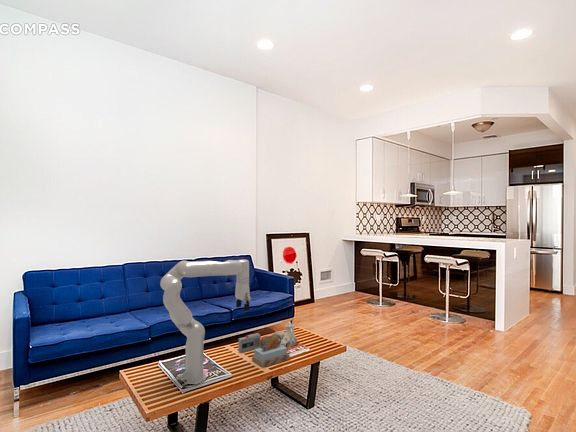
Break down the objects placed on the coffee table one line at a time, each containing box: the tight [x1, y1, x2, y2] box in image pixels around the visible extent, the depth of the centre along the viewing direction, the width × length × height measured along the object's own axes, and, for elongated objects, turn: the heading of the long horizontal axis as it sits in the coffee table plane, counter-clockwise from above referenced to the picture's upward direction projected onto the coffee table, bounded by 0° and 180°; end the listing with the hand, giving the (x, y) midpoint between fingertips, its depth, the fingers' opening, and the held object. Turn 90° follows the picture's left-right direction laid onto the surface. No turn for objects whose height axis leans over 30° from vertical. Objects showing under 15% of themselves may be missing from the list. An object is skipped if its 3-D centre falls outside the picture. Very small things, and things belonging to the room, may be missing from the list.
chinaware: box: [273, 321, 298, 347], centre depth 241 cm, size 28×17×17 cm, turn 9°
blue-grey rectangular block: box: [253, 345, 288, 361], centre depth 213 cm, size 18×10×4 cm, turn 126°
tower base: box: [251, 352, 291, 369], centre depth 213 cm, size 20×12×4 cm, turn 127°
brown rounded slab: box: [260, 333, 281, 351], centre depth 214 cm, size 15×3×8 cm, turn 129°
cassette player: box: [237, 332, 262, 354], centre depth 230 cm, size 16×3×10 cm, turn 128°
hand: (242, 308), depth 206 cm, fingers open, 9 cm apart
